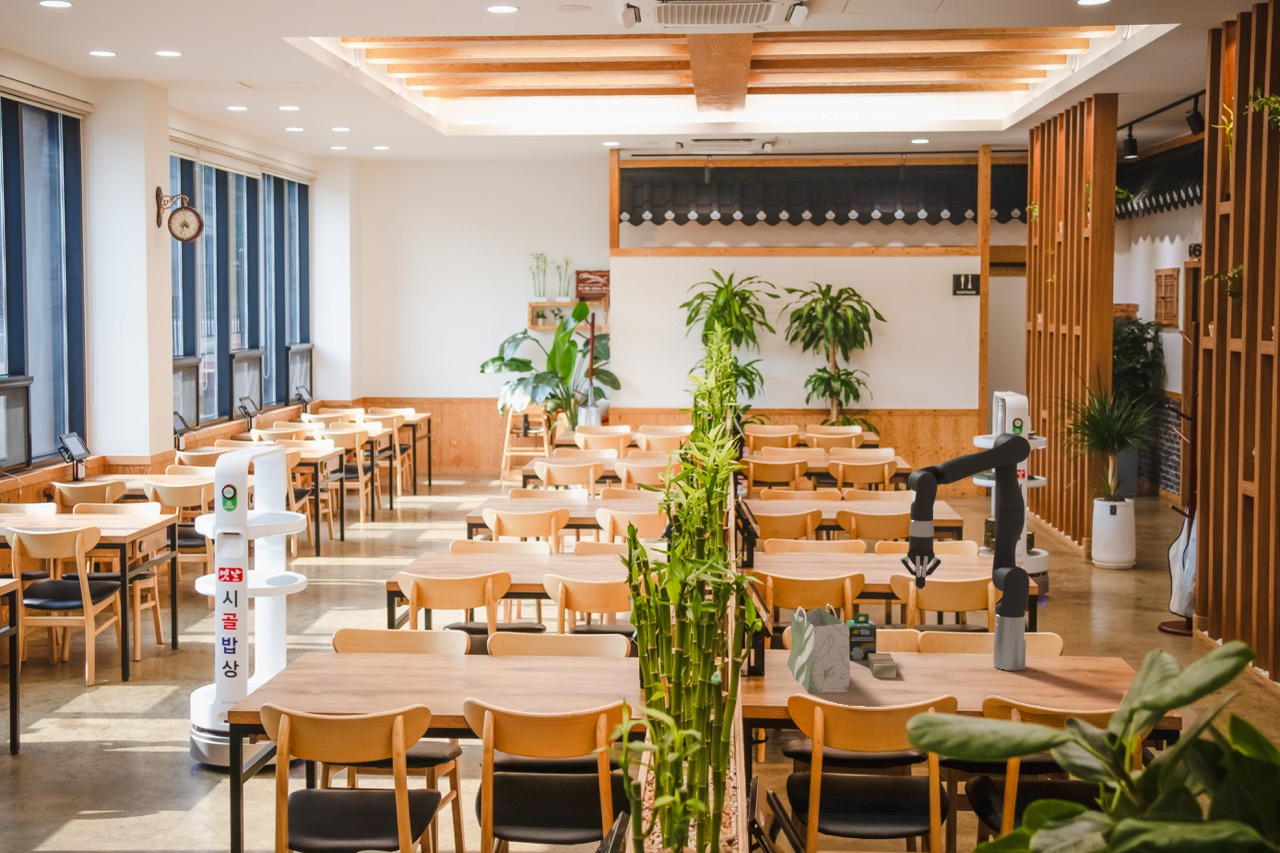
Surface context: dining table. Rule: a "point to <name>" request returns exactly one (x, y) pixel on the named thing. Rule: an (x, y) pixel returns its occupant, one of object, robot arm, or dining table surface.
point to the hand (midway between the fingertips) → (920, 588)
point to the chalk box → (861, 637)
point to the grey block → (881, 665)
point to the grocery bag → (819, 651)
